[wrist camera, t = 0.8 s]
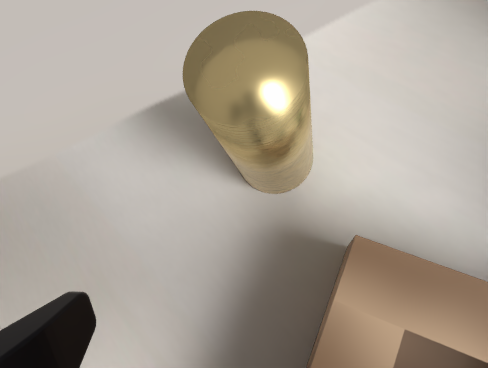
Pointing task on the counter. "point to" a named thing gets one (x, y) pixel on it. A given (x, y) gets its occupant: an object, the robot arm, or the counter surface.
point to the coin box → (401, 314)
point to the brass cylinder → (255, 96)
